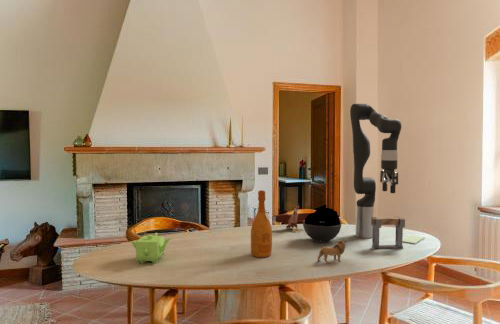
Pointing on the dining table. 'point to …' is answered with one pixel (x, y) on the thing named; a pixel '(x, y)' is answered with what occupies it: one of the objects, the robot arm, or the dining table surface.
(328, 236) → the bowl of black rocks
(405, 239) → the sage mat
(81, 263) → the dining table surface
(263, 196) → the wine bottle
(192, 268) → the dining table surface
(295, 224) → the decorative bird
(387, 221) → the walnut rail
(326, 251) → the lion figurine
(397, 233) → the cradle stand
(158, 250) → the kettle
